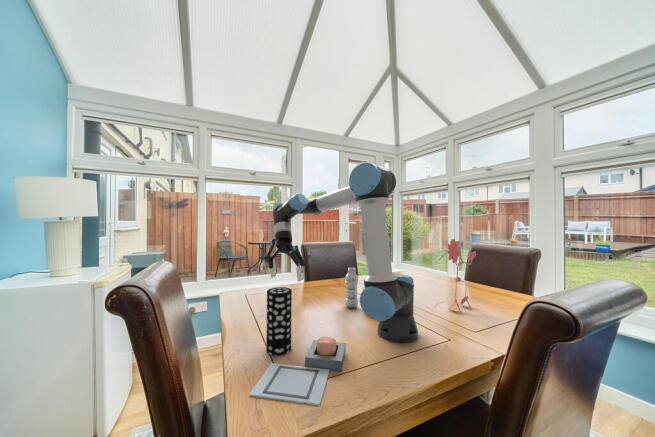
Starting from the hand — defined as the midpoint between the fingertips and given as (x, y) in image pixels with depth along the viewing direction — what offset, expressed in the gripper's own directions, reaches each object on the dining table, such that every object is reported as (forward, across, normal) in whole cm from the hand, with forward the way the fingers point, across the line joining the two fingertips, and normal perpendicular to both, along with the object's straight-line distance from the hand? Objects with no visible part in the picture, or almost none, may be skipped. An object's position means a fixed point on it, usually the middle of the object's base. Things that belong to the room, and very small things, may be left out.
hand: (287, 278), depth 103 cm
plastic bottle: (+8, -42, -4) cm, 43 cm away
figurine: (+17, -80, +31) cm, 87 cm away
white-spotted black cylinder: (+26, +6, -1) cm, 26 cm away
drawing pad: (+36, +12, +13) cm, 40 cm away
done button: (+31, -2, +14) cm, 34 cm away
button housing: (+32, -2, +13) cm, 34 cm away
